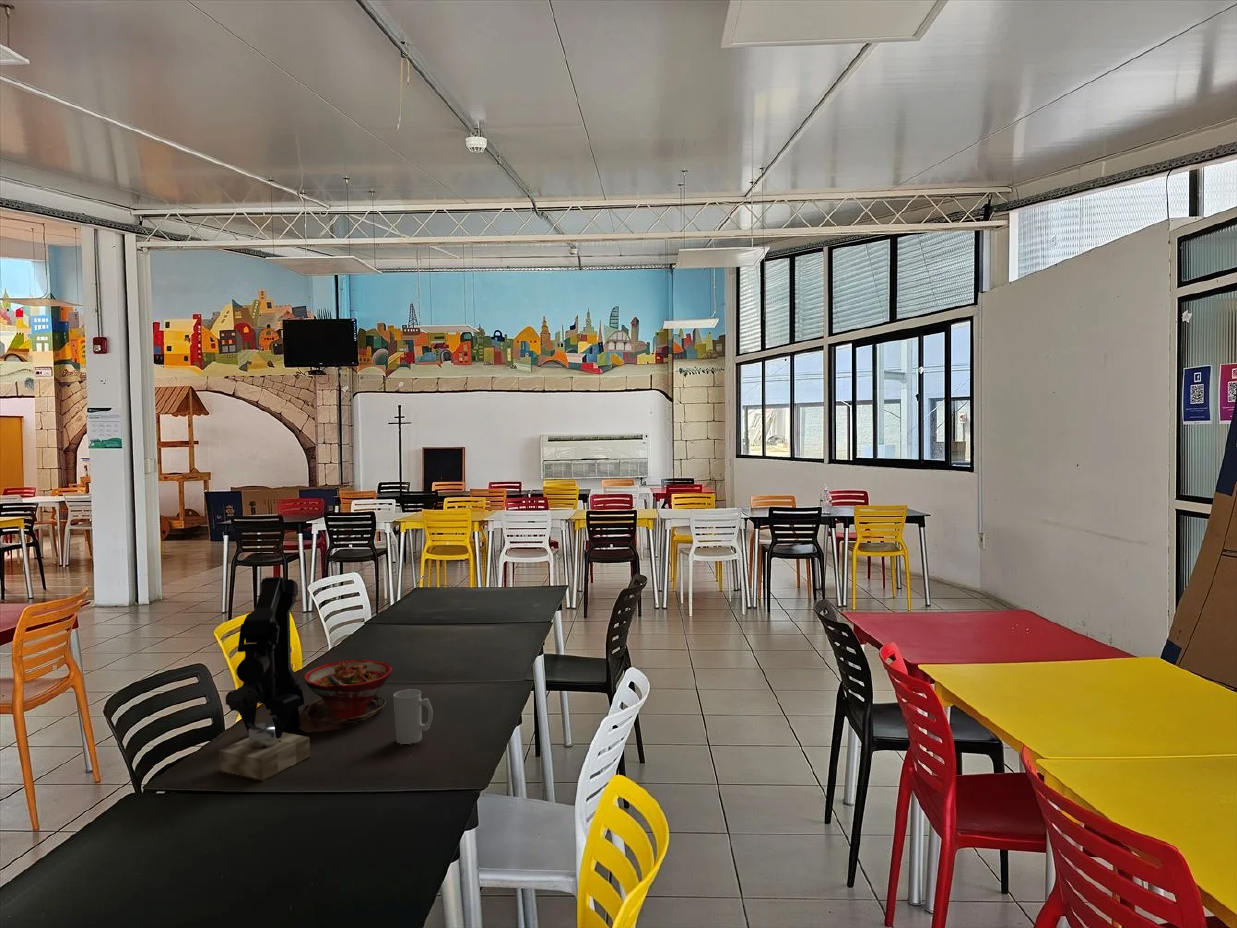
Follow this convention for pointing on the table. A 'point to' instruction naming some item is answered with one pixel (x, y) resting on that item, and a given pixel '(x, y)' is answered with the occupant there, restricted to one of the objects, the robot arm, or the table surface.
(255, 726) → the pin
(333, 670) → the stew
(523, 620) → the table surface
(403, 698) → the mug
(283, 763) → the hitch block
